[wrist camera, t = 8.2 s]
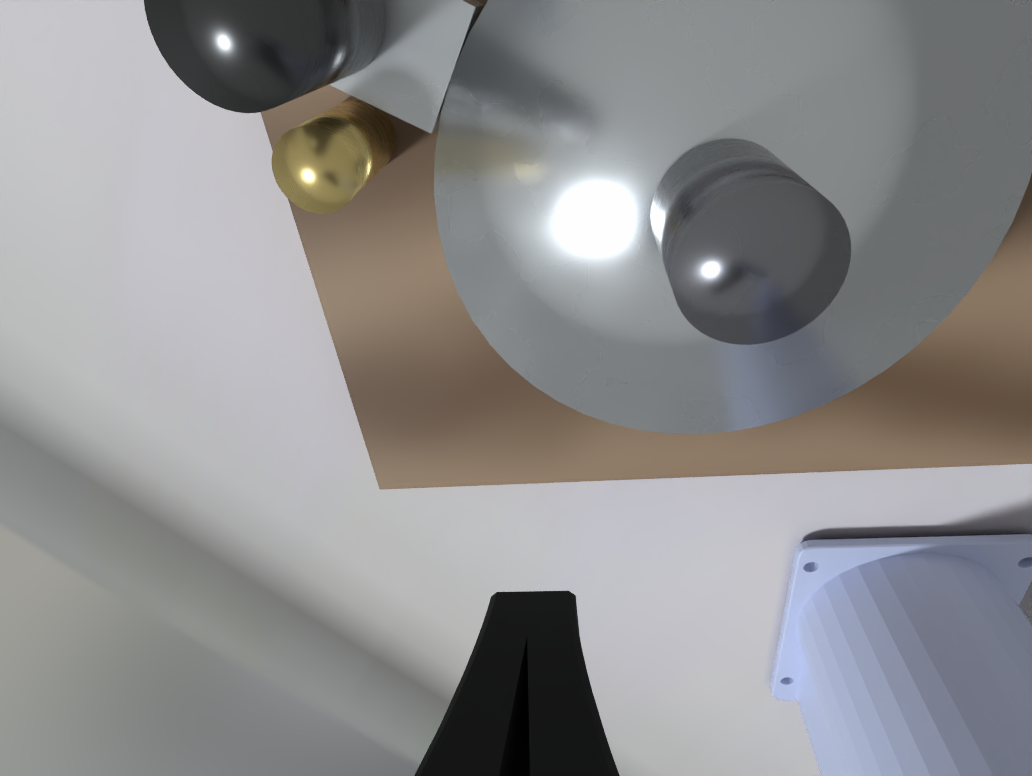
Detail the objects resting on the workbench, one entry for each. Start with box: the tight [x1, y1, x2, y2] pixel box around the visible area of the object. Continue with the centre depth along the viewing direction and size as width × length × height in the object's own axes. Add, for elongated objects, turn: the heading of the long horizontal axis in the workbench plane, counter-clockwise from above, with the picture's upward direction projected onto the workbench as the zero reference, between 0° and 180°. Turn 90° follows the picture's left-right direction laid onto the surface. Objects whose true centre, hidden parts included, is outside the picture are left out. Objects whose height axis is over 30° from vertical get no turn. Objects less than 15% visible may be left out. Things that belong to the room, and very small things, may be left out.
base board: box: [261, 0, 1032, 489], centre depth 14 cm, size 20×20×1 cm
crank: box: [144, 0, 1032, 434], centre depth 12 cm, size 16×12×6 cm
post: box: [651, 138, 851, 345], centre depth 11 cm, size 3×3×3 cm
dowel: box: [272, 99, 396, 214], centre depth 13 cm, size 2×2×3 cm
